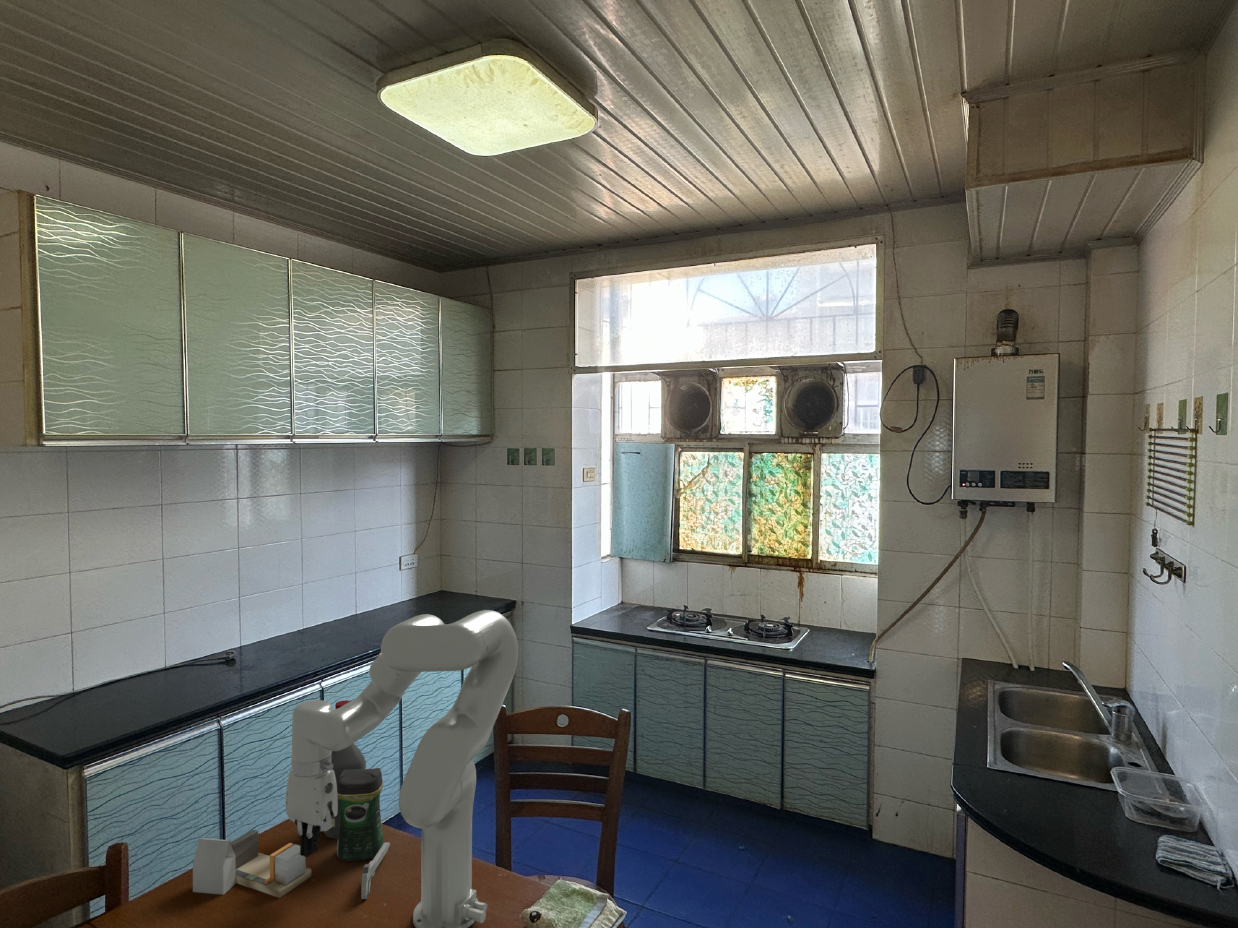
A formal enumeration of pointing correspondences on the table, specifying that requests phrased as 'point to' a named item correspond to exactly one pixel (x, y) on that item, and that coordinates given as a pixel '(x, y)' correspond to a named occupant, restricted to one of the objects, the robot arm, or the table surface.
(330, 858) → the table surface
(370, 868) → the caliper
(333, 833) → the liquor
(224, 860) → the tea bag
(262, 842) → the table surface
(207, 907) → the table surface
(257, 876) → the board
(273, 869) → the orange rectangular slab
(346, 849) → the coffee jar
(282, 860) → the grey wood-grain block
